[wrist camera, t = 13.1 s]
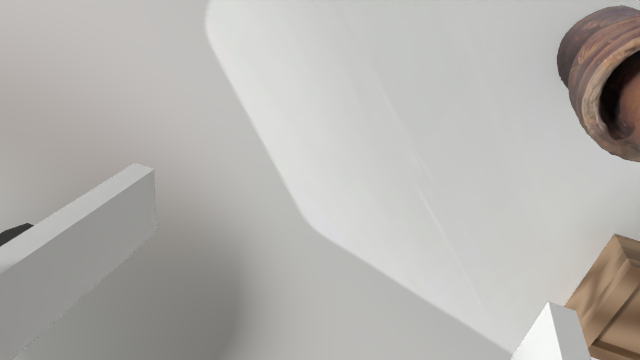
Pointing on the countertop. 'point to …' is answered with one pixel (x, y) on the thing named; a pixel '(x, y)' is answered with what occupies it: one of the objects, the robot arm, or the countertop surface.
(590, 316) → the tray
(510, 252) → the countertop surface
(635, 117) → the mortar and pestle
